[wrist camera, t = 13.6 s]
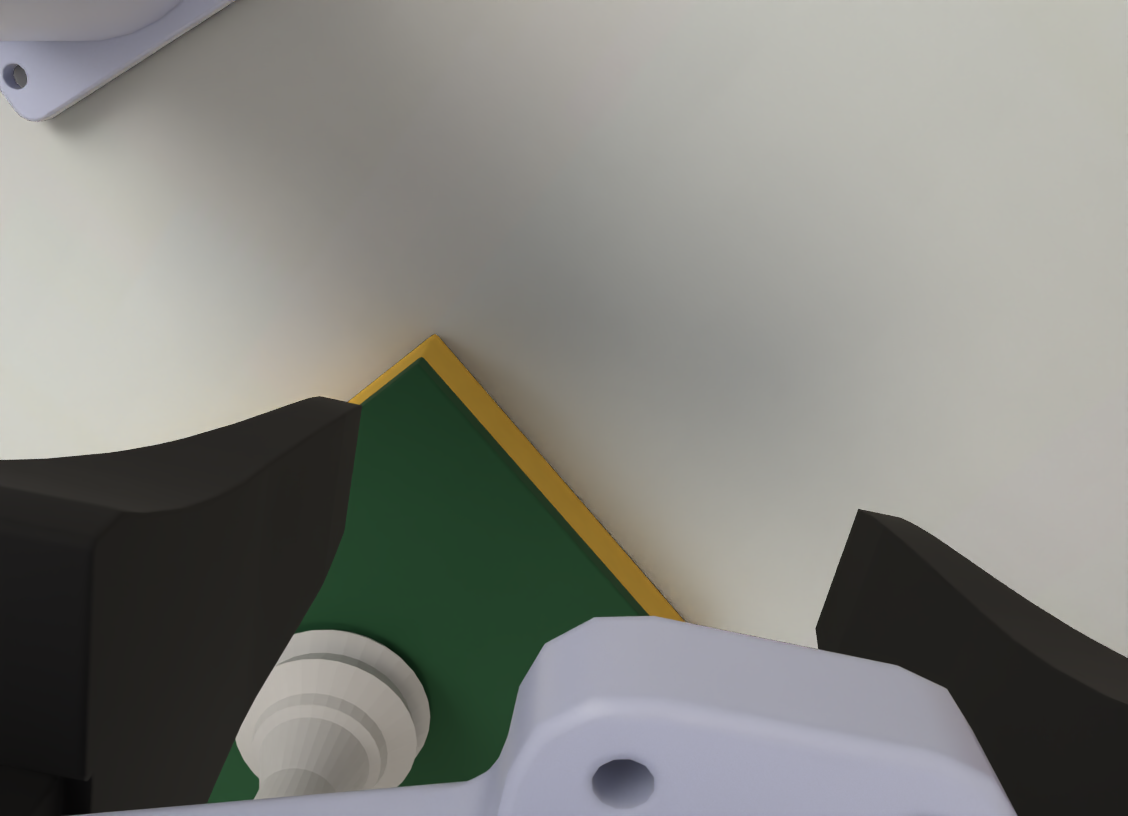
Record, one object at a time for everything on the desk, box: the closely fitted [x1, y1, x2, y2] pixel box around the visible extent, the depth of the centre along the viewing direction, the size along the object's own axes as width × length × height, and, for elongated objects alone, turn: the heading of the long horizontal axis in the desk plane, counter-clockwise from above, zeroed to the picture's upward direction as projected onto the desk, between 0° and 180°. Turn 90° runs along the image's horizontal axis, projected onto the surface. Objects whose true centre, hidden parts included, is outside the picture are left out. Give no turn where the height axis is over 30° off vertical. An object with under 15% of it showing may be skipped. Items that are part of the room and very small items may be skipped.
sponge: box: [207, 334, 685, 804], centre depth 25 cm, size 11×15×2 cm
